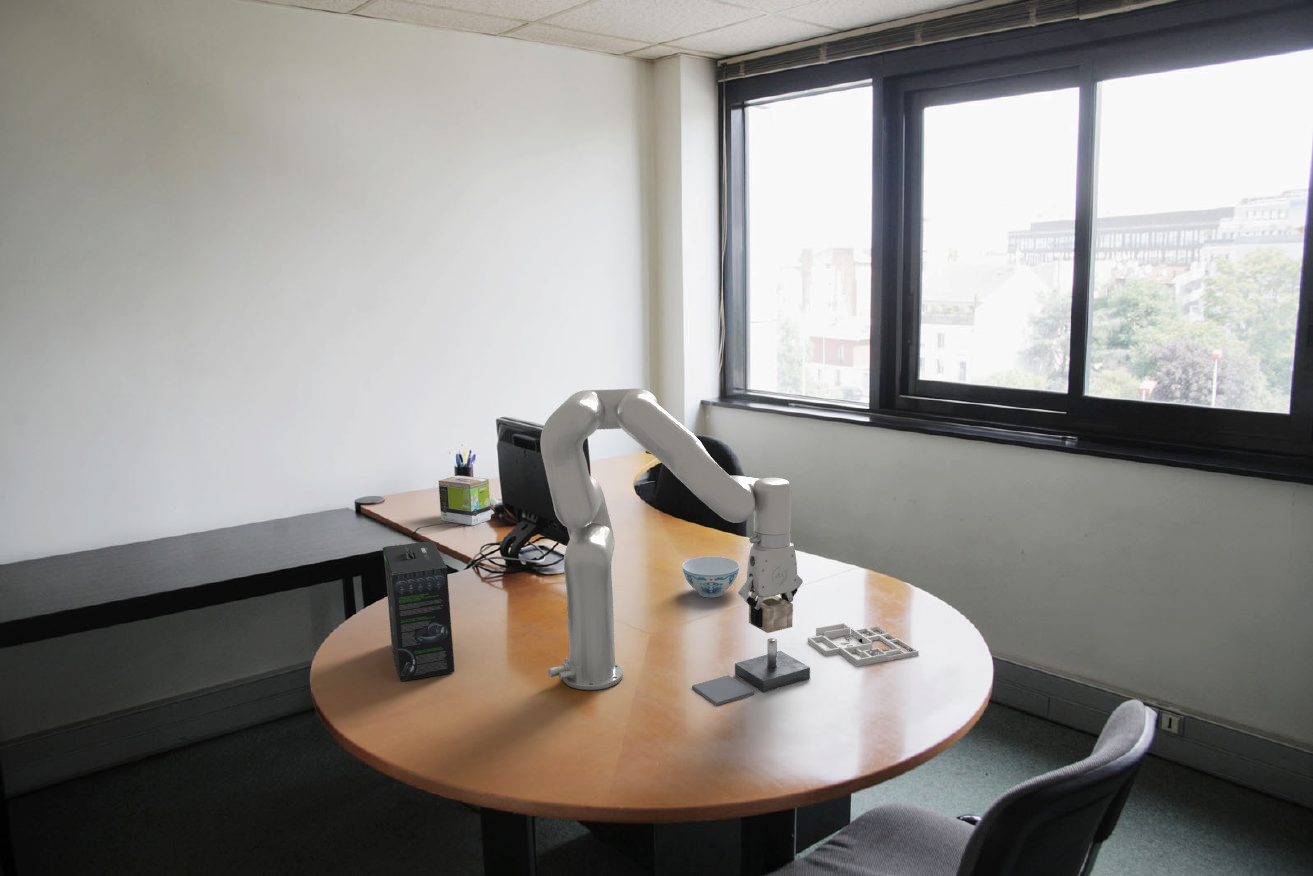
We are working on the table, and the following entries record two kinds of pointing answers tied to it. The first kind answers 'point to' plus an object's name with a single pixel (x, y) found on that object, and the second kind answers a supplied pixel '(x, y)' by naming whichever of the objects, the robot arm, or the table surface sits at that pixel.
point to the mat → (722, 690)
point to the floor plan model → (863, 649)
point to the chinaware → (710, 574)
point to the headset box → (419, 610)
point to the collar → (775, 614)
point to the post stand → (772, 669)
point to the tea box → (464, 500)
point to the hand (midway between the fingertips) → (770, 621)
